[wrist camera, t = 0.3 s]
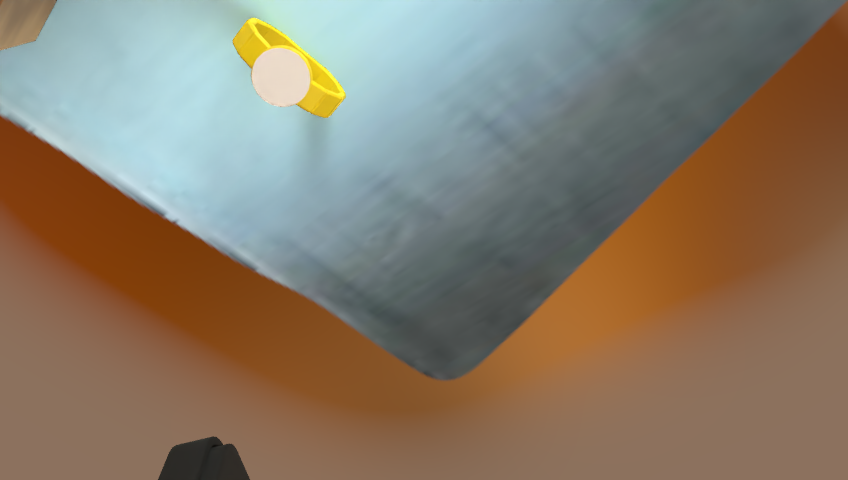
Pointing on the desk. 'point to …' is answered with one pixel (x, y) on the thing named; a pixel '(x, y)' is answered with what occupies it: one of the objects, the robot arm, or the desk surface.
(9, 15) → the stand
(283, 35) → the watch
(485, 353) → the desk surface
